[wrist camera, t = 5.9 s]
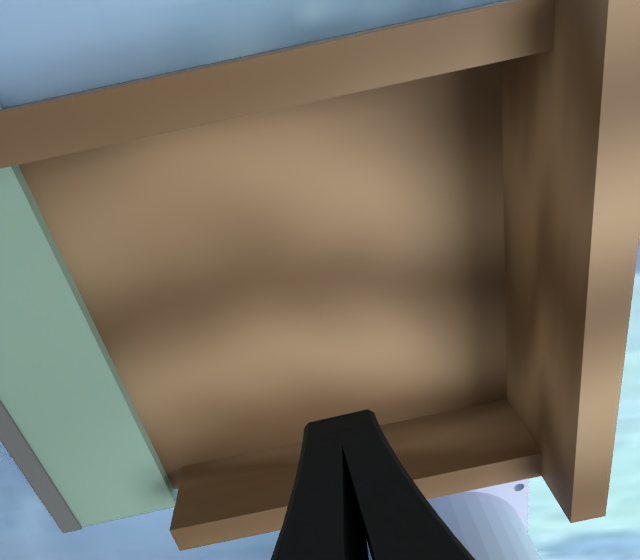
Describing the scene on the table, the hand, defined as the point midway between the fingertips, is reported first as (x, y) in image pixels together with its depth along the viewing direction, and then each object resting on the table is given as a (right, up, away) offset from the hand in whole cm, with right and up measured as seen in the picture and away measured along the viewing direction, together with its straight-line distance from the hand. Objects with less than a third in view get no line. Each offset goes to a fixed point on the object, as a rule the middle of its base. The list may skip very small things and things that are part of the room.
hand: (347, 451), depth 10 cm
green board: (-8, +1, +7) cm, 11 cm away
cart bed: (-1, +3, +8) cm, 9 cm away
